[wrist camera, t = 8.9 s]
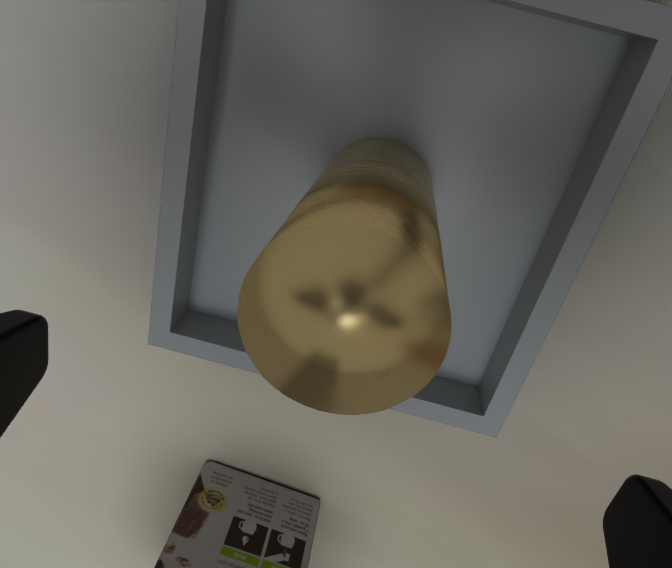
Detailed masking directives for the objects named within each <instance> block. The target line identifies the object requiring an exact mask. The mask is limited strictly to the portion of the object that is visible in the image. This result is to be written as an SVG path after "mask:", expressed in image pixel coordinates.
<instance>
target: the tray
mask: <svg viewBox="0 0 672 568" xmlns="http://www.w3.org/2000/svg"><path fill="white" fill-rule="evenodd" d="M671 80H672V7H671V6H667V5H663V4H659V3H656V2H652V1H648V0H179V6H178V17H177V28H176V39H175V50H174V62H173V73H172V84H171V95H170V106H169V117H168V128H167V139H166V150H165V161H164V172H163V183H162V194H161V205H160V216H159V227H158V238H157V249H156V260H155V271H154V282H153V293H152V304H151V315H150V326H149V337H148V344H150V345H154V346H157V347H161V348H165V349H169V350H172V351H176V352H180V353H184V354H187V355H191V356H195V357H198V358H202V359H206V360H210V361H213V362H217V363H221V364H224V365H228V366H232V367H236V368H239V369H243V370H247V371H251V372H254V373H258V374H261V373H260V372H259V371H258V370H257V368H256V367H255V366H254V364H253V362H252V361H251V359H250V358H249V356H248V354H247V352H246V350H245V348H244V345H243V342H242V339H241V336H240V332H239V327H238V319H237V306H238V297H239V293H240V289H241V285H242V283H243V281H244V278H245V276H246V274H247V272H248V270H249V269H250V267H251V265H252V264H253V262H254V261H255V260H256V258H257V257H258V256H259V254H260V253H261V252H262V250H263V249H264V248H265V247H266V245H267V244H268V243H269V241H270V240H271V239H272V237H273V236H274V235H275V233H276V232H277V231H278V229H279V228H280V227H281V226H282V224H283V223H284V222H285V220H286V219H287V218H288V216H289V215H290V214H291V212H292V211H293V210H294V208H295V207H296V206H297V205H298V203H299V202H300V201H301V199H302V198H303V197H304V195H305V194H306V193H307V191H308V190H309V189H310V188H311V186H312V185H313V184H314V182H315V181H316V180H317V178H318V177H319V176H320V174H321V173H322V172H323V170H324V169H325V168H326V167H327V165H328V164H329V163H330V161H331V160H332V159H333V158H334V156H335V155H336V154H337V153H338V152H339V151H340V150H341V149H343V148H344V147H346V146H347V145H349V144H351V143H353V142H355V141H357V140H360V139H364V138H369V137H385V138H390V139H394V140H397V141H400V142H402V143H404V144H406V145H407V146H409V147H410V148H412V149H413V150H414V151H415V152H416V153H417V154H418V155H419V156H420V157H421V158H422V159H423V161H424V163H425V164H426V166H427V168H428V170H429V172H430V175H431V178H432V183H433V189H434V196H435V204H436V211H437V218H438V225H439V232H440V239H441V247H442V254H443V261H444V268H445V275H446V283H447V290H448V297H449V304H450V311H451V337H450V344H449V347H448V350H447V354H446V356H445V358H444V361H443V363H442V365H441V367H440V368H439V370H438V371H437V373H436V374H435V376H434V377H433V378H432V379H431V380H430V382H429V383H428V384H427V385H426V386H425V387H424V388H423V389H421V390H420V391H419V392H418V393H417V394H415V395H414V396H412V397H411V398H409V399H408V400H406V401H404V402H402V403H400V404H398V405H396V406H394V407H391V408H388V409H392V410H396V411H399V412H403V413H407V414H411V415H414V416H418V417H422V418H425V419H429V420H433V421H437V422H440V423H444V424H448V425H451V426H455V427H459V428H463V429H466V430H470V431H474V432H478V433H481V434H485V435H489V436H492V437H496V438H497V436H498V433H499V431H500V429H501V427H502V425H503V423H504V421H505V419H506V417H507V415H508V413H509V411H510V409H511V407H512V405H513V403H514V401H515V399H516V397H517V395H518V393H519V391H520V388H521V386H522V384H523V382H524V380H525V378H526V376H527V374H528V372H529V370H530V368H531V366H532V364H533V362H534V360H535V358H536V356H537V354H538V352H539V350H540V348H541V346H542V343H543V341H544V339H545V337H546V335H547V333H548V331H549V329H550V327H551V325H552V323H553V321H554V319H555V317H556V315H557V313H558V311H559V309H560V307H561V305H562V303H563V301H564V298H565V296H566V294H567V292H568V290H569V288H570V286H571V284H572V282H573V280H574V278H575V276H576V274H577V272H578V270H579V268H580V266H581V264H582V262H583V260H584V258H585V256H586V253H587V251H588V249H589V247H590V245H591V243H592V241H593V239H594V237H595V235H596V233H597V231H598V229H599V227H600V225H601V223H602V221H603V219H604V217H605V215H606V213H607V211H608V208H609V206H610V204H611V202H612V200H613V198H614V196H615V194H616V192H617V190H618V188H619V186H620V184H621V182H622V180H623V178H624V176H625V174H626V172H627V170H628V168H629V166H630V163H631V161H632V159H633V157H634V155H635V153H636V151H637V149H638V147H639V145H640V143H641V141H642V139H643V137H644V135H645V133H646V131H647V129H648V127H649V125H650V123H651V121H652V118H653V116H654V114H655V112H656V110H657V108H658V106H659V104H660V102H661V100H662V98H663V96H664V94H665V92H666V90H667V88H668V86H669V84H670V82H671Z"/></svg>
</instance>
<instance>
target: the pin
mask: <svg viewBox="0 0 672 568" xmlns="http://www.w3.org/2000/svg"><path fill="white" fill-rule="evenodd" d="M237 319H238V327H239V332H240V336H241V339H242V342H243V345H244V348H245V350H246V352H247V354H248V356H249V358H250V359H251V361H252V362H253V364H254V366H255V367H256V368H257V370H258V371H259V372H260V373H261V374H262V376H263V377H264V378H265V379H266V380H267V381H268V382H269V383H270V384H271V385H272V386H274V387H275V388H276V389H277V390H279V391H280V392H281V393H283V394H284V395H286V396H288V397H289V398H291V399H293V400H294V401H296V402H299V403H301V404H303V405H305V406H308V407H311V408H314V409H317V410H320V411H324V412H329V413H335V414H344V415H358V414H367V413H373V412H378V411H382V410H385V409H388V408H391V407H394V406H396V405H398V404H400V403H402V402H404V401H406V400H408V399H409V398H411V397H412V396H414V395H415V394H417V393H418V392H419V391H420V390H421V389H423V388H424V387H425V386H426V385H427V384H428V383H429V382H430V380H431V379H432V378H433V377H434V376H435V374H436V373H437V371H438V370H439V368H440V367H441V365H442V363H443V361H444V358H445V356H446V354H447V350H448V347H449V344H450V337H451V311H450V304H449V297H448V290H447V283H446V275H445V268H444V261H443V254H442V247H441V239H440V232H439V225H438V218H437V211H436V204H435V196H434V189H433V183H432V178H431V175H430V172H429V170H428V168H427V166H426V164H425V163H424V161H423V159H422V158H421V157H420V156H419V155H418V154H417V153H416V152H415V151H414V150H413V149H412V148H410V147H409V146H407V145H406V144H404V143H402V142H400V141H397V140H394V139H390V138H385V137H369V138H364V139H360V140H357V141H355V142H353V143H351V144H349V145H347V146H346V147H344V148H343V149H341V150H340V151H339V152H338V153H337V154H336V155H335V156H334V158H333V159H332V160H331V161H330V163H329V164H328V165H327V167H326V168H325V169H324V170H323V172H322V173H321V174H320V176H319V177H318V178H317V180H316V181H315V182H314V184H313V185H312V186H311V188H310V189H309V190H308V191H307V193H306V194H305V195H304V197H303V198H302V199H301V201H300V202H299V203H298V205H297V206H296V207H295V208H294V210H293V211H292V212H291V214H290V215H289V216H288V218H287V219H286V220H285V222H284V223H283V224H282V226H281V227H280V228H279V229H278V231H277V232H276V233H275V235H274V236H273V237H272V239H271V240H270V241H269V243H268V244H267V245H266V247H265V248H264V249H263V250H262V252H261V253H260V254H259V256H258V257H257V258H256V260H255V261H254V262H253V264H252V265H251V267H250V269H249V270H248V272H247V274H246V276H245V278H244V281H243V283H242V285H241V289H240V293H239V297H238V306H237Z"/></svg>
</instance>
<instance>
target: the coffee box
mask: <svg viewBox="0 0 672 568" xmlns="http://www.w3.org/2000/svg"><path fill="white" fill-rule="evenodd" d="M319 508H320V501H319V500H318V499H315V498H313V497H310V496H307V495H305V494H302V493H299V492H296V491H293V490H290V489H287V488H285V487H282V486H279V485H277V484H274V483H271V482H268V481H265V480H262V479H260V478H257V477H254V476H251V475H249V474H246V473H243V472H240V471H237V470H234V469H232V468H229V467H226V466H223V465H221V464H218V463H215V462H212V461H211V462H207V463H205V464H204V466H203V468H202V470H201V472H200V474H199V476H198V478H197V480H196V482H195V484H194V486H193V488H192V490H191V492H190V494H189V497H188V499H187V501H186V503H185V505H184V507H183V509H182V511H181V513H180V515H179V517H178V519H177V521H176V523H175V526H174V528H173V530H172V532H171V534H170V536H169V538H168V541H167V543H166V545H165V547H164V549H163V551H162V553H161V555H160V557H159V559H158V561H157V563H156V565H155V567H154V568H308V564H309V559H310V553H311V548H312V543H313V538H314V533H315V528H316V523H317V517H318V513H319Z"/></svg>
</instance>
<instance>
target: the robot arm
mask: <svg viewBox="0 0 672 568" xmlns="http://www.w3.org/2000/svg"><path fill="white" fill-rule="evenodd" d="M47 365H48V323H47V320H46V319H45V318H44V317H43V316H41V315H38V314H34V313H30V312H26V311H23V310H12V311H8V312H4V313H0V437H1V436H2V435H3V433H4V432H5V430H6V429H7V427H8V426H9V425H10V423H11V422H12V420H13V419H14V417H15V416H16V415H17V413H18V412H19V410H20V409H21V407H22V406H23V405H24V403H25V402H26V400H27V399H28V397H29V396H30V395H31V393H32V392H33V390H34V389H35V387H36V386H37V385H38V383H39V382H40V380H41V379H42V377H43V376H44V374H45V372H46V369H47ZM603 531H604V537H605V543H606V549H607V556H608V562H609V568H672V489H671V488H669V487H668V486H667V485H666V484H665V483H663V482H661V481H659V480H656V479H652V478H648V477H645V476H641V475H631V476H630V477H628V478H627V479H626V480H625V482H624V483H623V485H622V486H621V488H620V489H619V491H618V492H617V494H616V495H615V497H614V498H613V500H612V501H611V503H610V504H609V506H608V507H607V509H606V511H605V514H604V518H603Z"/></svg>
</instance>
